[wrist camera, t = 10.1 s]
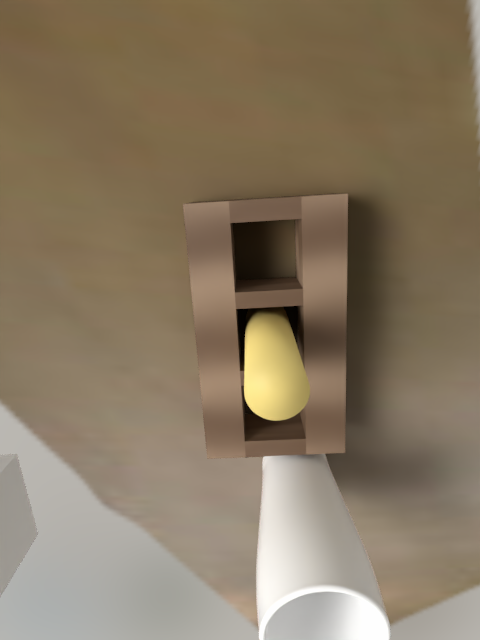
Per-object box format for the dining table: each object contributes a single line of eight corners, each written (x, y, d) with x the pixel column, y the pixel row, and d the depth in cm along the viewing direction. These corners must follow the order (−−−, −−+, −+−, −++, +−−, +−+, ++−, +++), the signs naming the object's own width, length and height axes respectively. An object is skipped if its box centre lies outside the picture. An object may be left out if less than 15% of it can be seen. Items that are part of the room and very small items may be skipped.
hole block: (191, 202, 30) (182, 204, 26) (334, 193, 29) (348, 193, 26) (211, 429, 35) (207, 458, 31) (334, 424, 35) (345, 452, 31)
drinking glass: (261, 417, 35) (271, 576, 20) (343, 430, 35) (410, 598, 20) (246, 486, 36) (246, 677, 22) (324, 499, 37) (373, 695, 22)
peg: (243, 302, 32) (240, 364, 20) (286, 297, 32) (308, 357, 20) (247, 342, 33) (247, 423, 21) (289, 338, 33) (311, 417, 21)
